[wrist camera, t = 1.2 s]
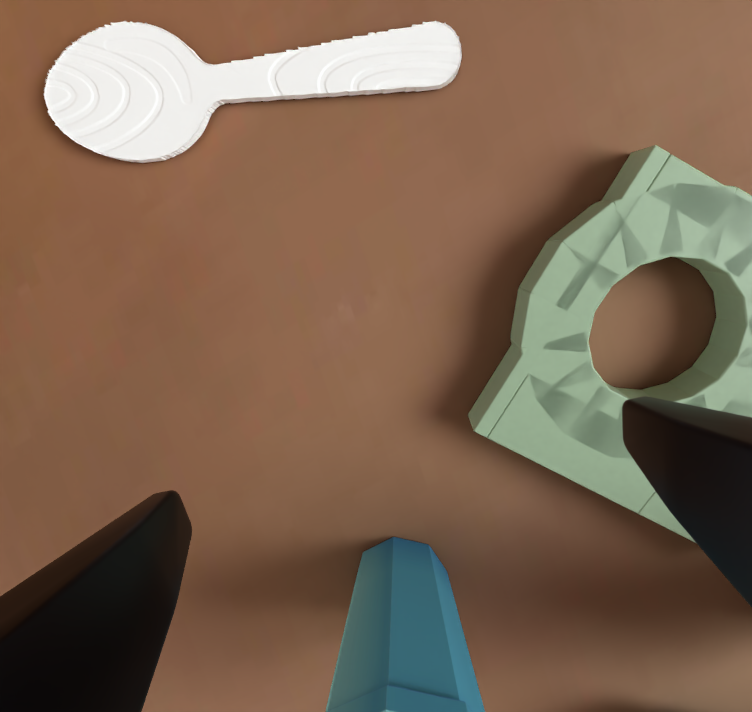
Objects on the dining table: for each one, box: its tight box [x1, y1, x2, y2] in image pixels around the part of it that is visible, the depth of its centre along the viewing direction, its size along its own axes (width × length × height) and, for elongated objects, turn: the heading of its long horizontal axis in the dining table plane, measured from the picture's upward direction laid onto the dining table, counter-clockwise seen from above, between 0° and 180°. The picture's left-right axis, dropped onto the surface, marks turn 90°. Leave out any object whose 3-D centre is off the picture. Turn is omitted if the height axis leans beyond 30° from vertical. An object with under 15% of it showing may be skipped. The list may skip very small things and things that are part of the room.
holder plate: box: [468, 145, 752, 543], centre depth 21 cm, size 17×14×2 cm
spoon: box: [44, 21, 462, 163], centre depth 19 cm, size 5×18×1 cm, turn 96°
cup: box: [326, 537, 485, 712], centre depth 19 cm, size 14×8×15 cm, turn 100°
